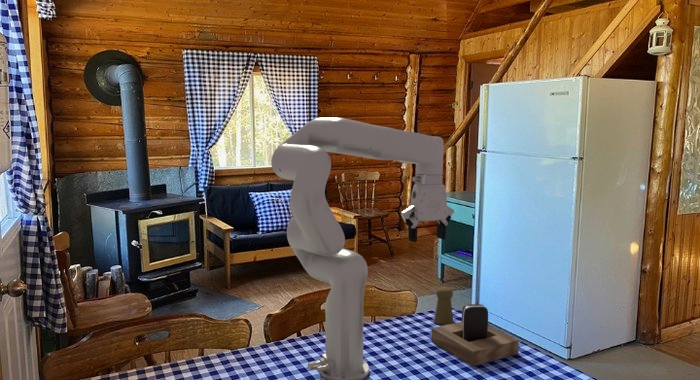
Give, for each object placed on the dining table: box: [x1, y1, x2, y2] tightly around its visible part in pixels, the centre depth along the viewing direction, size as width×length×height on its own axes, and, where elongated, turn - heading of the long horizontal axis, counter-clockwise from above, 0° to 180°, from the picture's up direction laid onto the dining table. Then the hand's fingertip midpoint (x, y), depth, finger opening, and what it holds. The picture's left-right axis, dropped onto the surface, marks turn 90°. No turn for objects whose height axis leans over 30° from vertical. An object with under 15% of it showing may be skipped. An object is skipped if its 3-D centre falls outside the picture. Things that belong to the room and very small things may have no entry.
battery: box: [461, 303, 489, 342], centre depth 151 cm, size 7×4×11 cm, turn 94°
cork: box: [433, 286, 454, 326], centre depth 171 cm, size 6×6×11 cm
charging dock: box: [431, 321, 520, 367], centre depth 152 cm, size 16×18×4 cm
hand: (427, 239), depth 154 cm, fingers open, 9 cm apart
